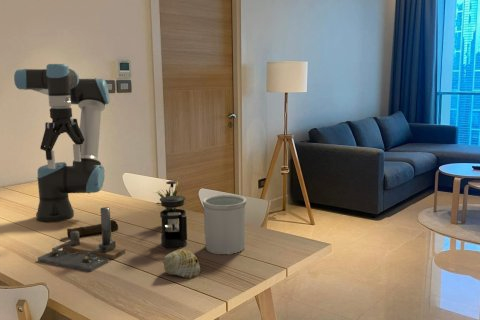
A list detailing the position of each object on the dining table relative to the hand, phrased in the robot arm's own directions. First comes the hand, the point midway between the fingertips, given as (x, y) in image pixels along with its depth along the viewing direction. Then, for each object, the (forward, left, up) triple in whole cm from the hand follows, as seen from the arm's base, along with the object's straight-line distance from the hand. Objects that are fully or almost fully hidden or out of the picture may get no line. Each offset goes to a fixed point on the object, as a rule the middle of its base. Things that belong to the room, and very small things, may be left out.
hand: (65, 164), depth 179 cm
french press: (-7, +42, -28) cm, 51 cm away
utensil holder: (-11, +60, -28) cm, 67 cm away
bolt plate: (+20, +20, -27) cm, 39 cm away
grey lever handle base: (+14, +20, -27) cm, 37 cm away
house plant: (-25, +28, -28) cm, 47 cm away
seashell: (+14, +57, -28) cm, 65 cm away
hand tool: (-5, +6, -28) cm, 29 cm away
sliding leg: (+14, +26, -26) cm, 39 cm away
